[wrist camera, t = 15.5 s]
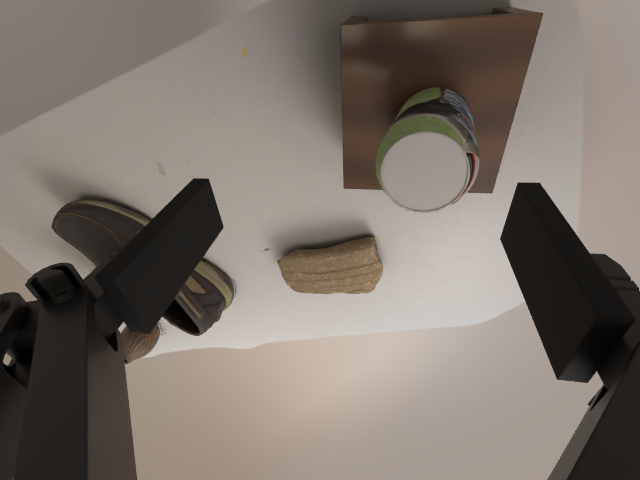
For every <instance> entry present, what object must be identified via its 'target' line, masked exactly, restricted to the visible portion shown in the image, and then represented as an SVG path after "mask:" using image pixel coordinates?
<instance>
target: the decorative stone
mask: <svg viewBox="0 0 640 480" xmlns="http://www.w3.org/2000/svg"><path fill="white" fill-rule="evenodd" d="M278 264H279V266H280V269H281V272H282V276H283V279H284V280H285V282H286V284H287V285H289V286H290V287H291V288H292V289H293V290H294V291H296V292H301V293H315V294H318V293H319V294H330V293H348V294H359V293H369V292H371V291H373V290H374V288H375V286H376V284H377V283H378V281H379V280H380V278H381V276H382V272H383V265H382V263H381V261H380V259H379V257H378V254H377V249H376V242H375V238H374V237H365V238H361V239H357V240H353V241H348V242H345V243H342V244H338V245H335V246H332V247H328V248H321V249H296V250H295V251H293V252H290V253H289V254H288V255H287V256H286V257H284V258H282V259H281V260H279V261H278Z"/></svg>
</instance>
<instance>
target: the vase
mask: <svg viewBox="0 0 640 480" xmlns="http://www.w3.org/2000/svg"><path fill="white" fill-rule="evenodd" d="M159 334H160V331H159V327H158V325H157V324H156V326H155V327H154V328H153V330H152V331H151V333H150V334H145V333H136V332H131V331H130V330H129V328H128V327H127V326H126V327H125V328H124V329H123V331H122V332H121V335H122V344H123V353H124V362H125V364H128V363H130V362H131V361H133V360H136V359H138V358H141V357H143V356H145V355H146V354H148V353H149V352H150V351H151V350H152V349H153V348H154V346H155V345H156V343H157V341H158V339H159Z"/></svg>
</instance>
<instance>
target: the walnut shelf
mask: <svg viewBox="0 0 640 480" xmlns="http://www.w3.org/2000/svg"><path fill="white" fill-rule="evenodd" d="M542 16H543V13H539V12H533V11H528V10H523V9H518V8H513V7H506V8H494V9H493V13H492V14H490V15H472V16H455V17H437V18H420V19H402V20H385V21H367V16H356V17H351V18H350V19H348V20H347V21H346V22H344V23H343V24H341V73H342V124H343V175H344V189H374V190H383V189H382V187H381V185H380V184H379V181H378V178H377V174H376V156H377V152H378V149H379V147H380V144H381V142H382V140H383V139H384V137H385V135H386V134H387V132H388V130H389V128H390V127H391V125H392V123H393V122H394V120H395V118H396V116H397V115H398V113H399V111H400V110H401V108H402V107H403V105H404V104H405V103H406V101H407V100H408V99H409V98H411V97H412V96H413V95H414V94H416V93H418V92H420V91H422V90H425V89H428V88H433V87H442V88H448V89H451V90H453V91H455V92H457V93H458V94H460V95H461V96H462V97H463V98H464V99H465V100H466V101H467V103H468V104H469V106H470V109H471V111H472V117H473V122H474V128H475V133H476V139H477V144H478V150H479V156H480V162H479V170H478V174H477V177H476V179H475V181H474V183H473V185H472V186H471V188H470V189H469V191H468V192H467V193H492V192H493V189H494V185H495V182H496V178H497V175H498V171H499V167H500V164H501V160H502V157H503V153H504V150H505V146H506V143H507V139H508V136H509V132H510V129H511V125H512V122H513V118H514V115H515V111H516V108H517V104H518V100H519V97H520V93H521V90H522V86H523V83H524V79H525V76H526V72H527V69H528V65H529V62H530V58H531V55H532V51H533V48H534V44H535V41H536V37H537V34H538V30H539V26H540V23H541V19H542Z"/></svg>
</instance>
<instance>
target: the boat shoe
mask: <svg viewBox="0 0 640 480" xmlns="http://www.w3.org/2000/svg"><path fill="white" fill-rule="evenodd" d="M150 221H151V220H149V219H148V218H145V217H144V216H142V215H140V214H138V213H136V212H134V211H132V210H129V209H125V208H123V207H121V206H118V205H114V204H111V203H107V202H102V201H96V200H80V201H74V202H70V203H68V204H66V205H64V206H63V207H62V208H61V209H60V210H59V211H58V212H57V214H56V216H55V217H54V219H53V223H52V229H53V230H54V232H55V233H56V234H57V235H59V236H60V237H61V238H62V239H64V240H65V241H66V242H68V243H69V244H71V245H72V246H73V247H75V248H76V249H78V250H79V251H80V252H81V253H83V254H84V255H85V256H86V257H87V258H89V259H90V260H91V261H92V262H93V263H94V264H95V265H96V266H98V265H99V264H100V263H102V262H103V261H104V260H105V259H106V258H108V256H109V255H110V254H111V253H112V252H113V251H116V248H117V247H118V246H119V245H120V244H121V243H122V242H123V241H124V240H126V239H128V238H129V237H131V236H133V235H134V234H136V233H139V232H140V231H141V230H142V229H143V228H144V227H145V226H146V225H147V224H148V223H149V222H150ZM233 296H234V289H233V285H232V283H231V281H230V280H229V279H228V277H227V276H226V275H225V274H223V273H222V272H221V271H220V270H218V269H217V268H215V267H214V266H212V265H210V264H209V263H207V262H205V261H203V260H201V261H200V262H199V264H198V265H197V266H196V268H195V269H194V271H193V272H192V274H191V275H190V277H189V278H188V279H187V281H186V282H185V284H184V285H183V287H182V288H181V290H180V291H179V292H178V294H177V295H176V297H175V298H174V300H173V301H172V302H171V304H170V305H169V307H168V308H167V310H166V311H165V313H164V314H163V315H162V317H163V318H165V319H166V320H167V321H168V322H169V323H170V324H172V325H174V326H176V327H178V328H179V329H181V330H182V331H184V332H186V333H189V334H191V335H195V336H199V335H202V334H203V333H205V332H206V331H207V330H208V329H209V328H210V327H212V325H213V324H214V323H215V322H217V321H218V320H219V319H220V317H221V313H222V312H223V311H224V310H226V309H227V308H228V307H229V306H230V304H231V303H232V300H233Z"/></svg>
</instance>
